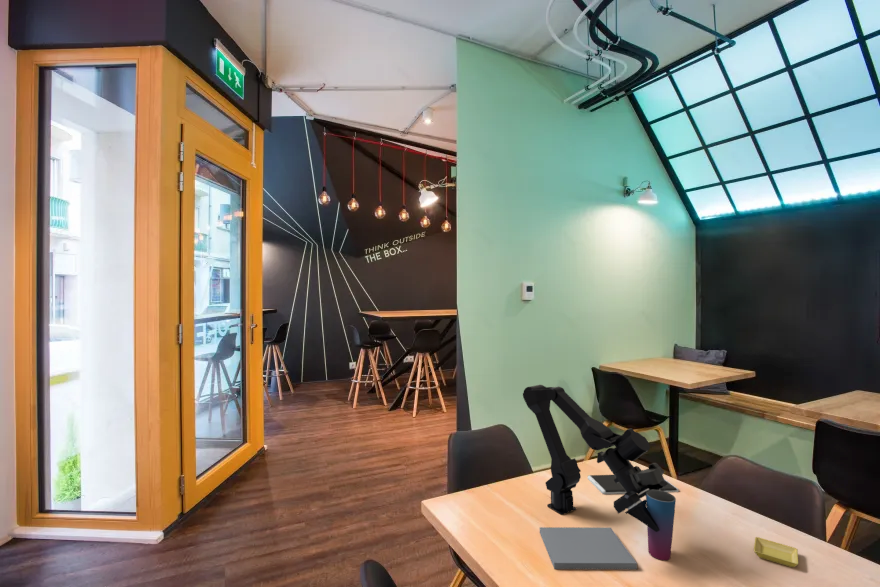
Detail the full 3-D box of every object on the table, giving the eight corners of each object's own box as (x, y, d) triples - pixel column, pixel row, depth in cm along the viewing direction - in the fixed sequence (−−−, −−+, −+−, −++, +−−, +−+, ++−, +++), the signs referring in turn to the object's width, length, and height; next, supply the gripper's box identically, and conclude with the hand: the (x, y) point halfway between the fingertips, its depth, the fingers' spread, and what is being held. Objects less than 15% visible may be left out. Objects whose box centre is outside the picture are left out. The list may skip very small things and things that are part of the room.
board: (554, 569, 101) (554, 562, 101) (539, 532, 117) (539, 527, 117) (636, 569, 101) (636, 563, 101) (610, 532, 117) (610, 527, 117)
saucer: (755, 543, 112) (755, 535, 112) (797, 556, 106) (797, 548, 106) (753, 559, 105) (753, 550, 105) (798, 573, 100) (798, 564, 100)
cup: (678, 564, 103) (679, 503, 103) (648, 560, 104) (650, 500, 104) (669, 548, 109) (670, 491, 110) (641, 544, 111) (642, 488, 111)
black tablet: (680, 494, 142) (680, 488, 142) (602, 496, 140) (602, 491, 140) (657, 477, 155) (657, 472, 155) (586, 479, 153) (586, 474, 153)
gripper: (623, 462, 105) (670, 525, 96) (659, 447, 116) (704, 502, 107) (596, 483, 111) (637, 544, 102) (632, 466, 122) (672, 520, 113)
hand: (664, 526), depth 106 cm, fingers closed on cup, 6 cm apart
